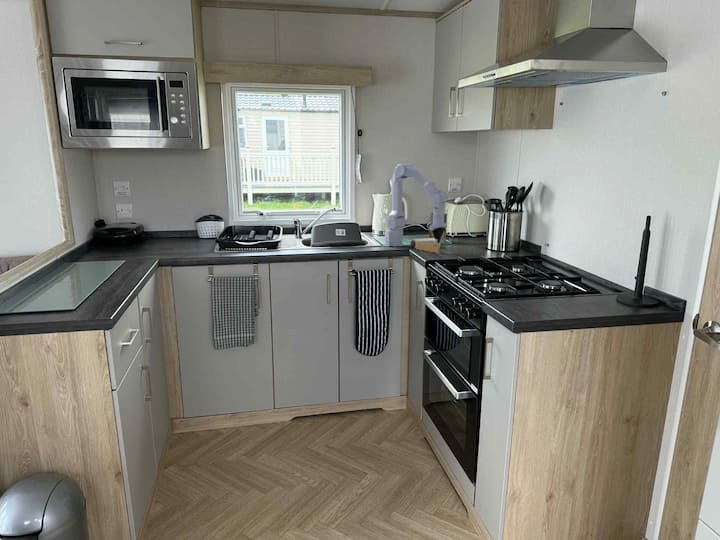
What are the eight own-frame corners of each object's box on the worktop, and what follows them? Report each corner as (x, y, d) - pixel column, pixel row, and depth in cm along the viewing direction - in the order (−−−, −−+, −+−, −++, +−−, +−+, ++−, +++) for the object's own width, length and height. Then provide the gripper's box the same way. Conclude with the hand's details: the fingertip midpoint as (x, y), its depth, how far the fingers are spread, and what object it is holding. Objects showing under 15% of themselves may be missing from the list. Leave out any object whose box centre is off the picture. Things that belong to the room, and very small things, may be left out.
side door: (416, 249, 268) (416, 236, 267) (418, 248, 270) (419, 236, 268) (437, 253, 259) (438, 240, 257) (439, 253, 260) (440, 239, 259)
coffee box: (446, 241, 292) (448, 213, 288) (444, 243, 286) (446, 214, 282) (430, 240, 295) (431, 212, 291) (428, 242, 289) (430, 213, 285)
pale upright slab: (414, 249, 269) (415, 241, 268) (409, 246, 276) (409, 239, 275) (440, 247, 274) (440, 240, 273) (434, 245, 281) (434, 238, 280)
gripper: (438, 218, 250) (436, 245, 254) (452, 215, 261) (451, 241, 265) (425, 217, 255) (424, 243, 258) (440, 214, 266) (439, 239, 269)
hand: (437, 242), depth 262 cm, fingers closed
